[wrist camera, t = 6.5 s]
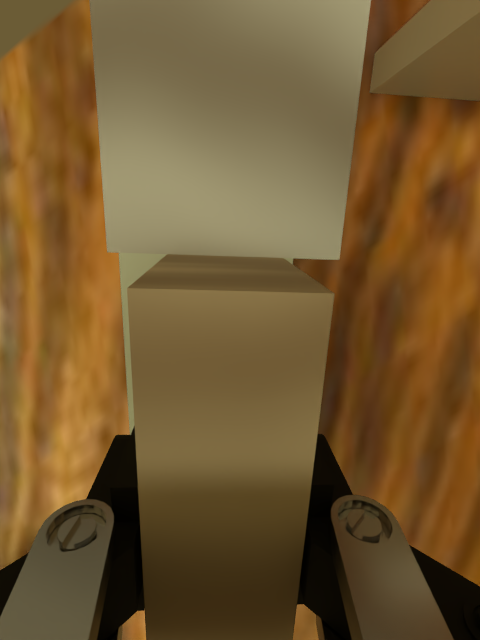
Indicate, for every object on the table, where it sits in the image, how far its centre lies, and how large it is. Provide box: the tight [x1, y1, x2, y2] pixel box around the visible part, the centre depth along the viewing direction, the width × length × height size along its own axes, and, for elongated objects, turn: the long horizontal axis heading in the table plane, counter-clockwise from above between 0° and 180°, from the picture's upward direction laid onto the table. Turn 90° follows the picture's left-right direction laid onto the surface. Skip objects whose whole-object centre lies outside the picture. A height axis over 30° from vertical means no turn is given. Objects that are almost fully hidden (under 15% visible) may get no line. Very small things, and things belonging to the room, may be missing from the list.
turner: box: [90, 0, 371, 640], centre depth 8 cm, size 21×6×5 cm, turn 178°
